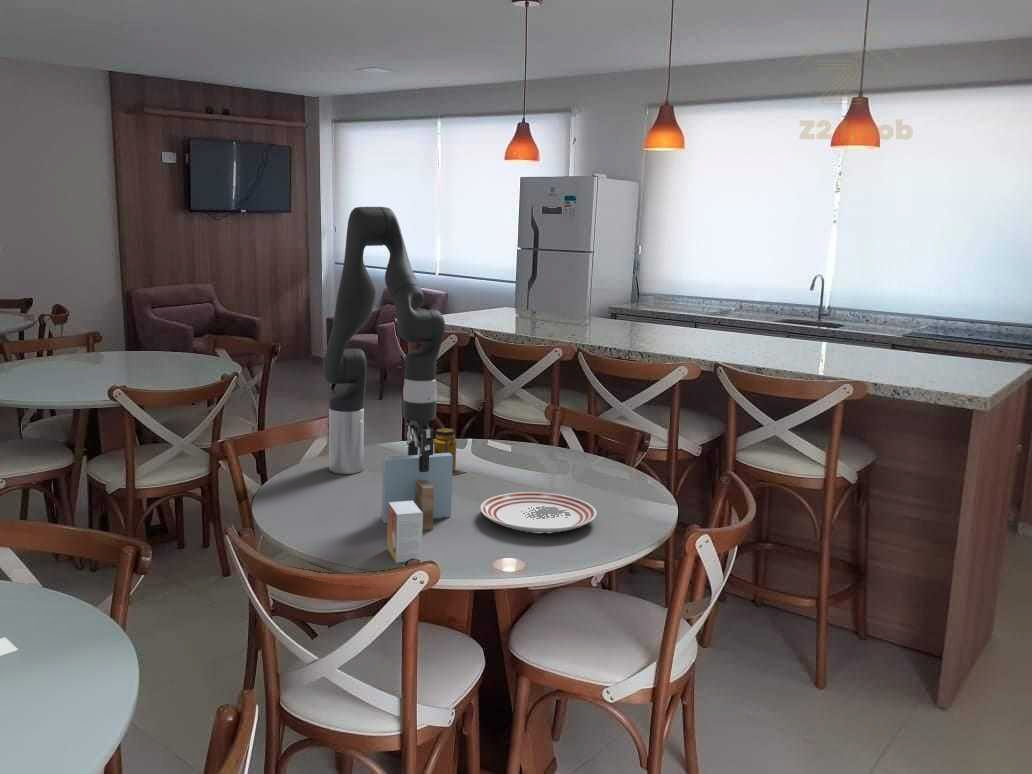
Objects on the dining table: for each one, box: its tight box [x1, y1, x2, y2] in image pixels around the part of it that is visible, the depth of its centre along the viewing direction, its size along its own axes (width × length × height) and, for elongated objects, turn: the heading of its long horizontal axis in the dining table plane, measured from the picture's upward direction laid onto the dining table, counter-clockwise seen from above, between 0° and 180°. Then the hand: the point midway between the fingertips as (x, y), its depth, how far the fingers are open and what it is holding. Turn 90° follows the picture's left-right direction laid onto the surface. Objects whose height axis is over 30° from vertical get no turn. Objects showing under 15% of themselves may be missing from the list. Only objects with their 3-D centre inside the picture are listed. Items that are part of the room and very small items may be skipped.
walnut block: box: [409, 480, 434, 532], centre depth 204 cm, size 16×2×10 cm, turn 24°
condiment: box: [433, 427, 468, 476], centre depth 241 cm, size 7×8×12 cm
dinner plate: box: [480, 491, 597, 534], centre depth 208 cm, size 27×27×3 cm
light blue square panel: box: [381, 453, 453, 524], centre depth 204 cm, size 2×16×15 cm, turn 113°
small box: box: [386, 501, 423, 564], centre depth 183 cm, size 8×6×10 cm
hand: (418, 466), depth 203 cm, fingers open, 8 cm apart
